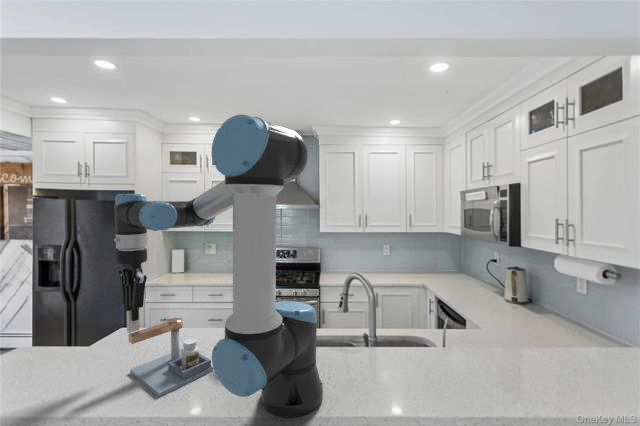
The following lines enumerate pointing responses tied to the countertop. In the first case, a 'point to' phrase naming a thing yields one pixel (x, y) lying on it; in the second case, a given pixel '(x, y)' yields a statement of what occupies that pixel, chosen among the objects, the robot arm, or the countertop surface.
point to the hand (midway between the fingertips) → (133, 330)
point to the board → (170, 370)
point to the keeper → (155, 330)
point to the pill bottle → (190, 354)
